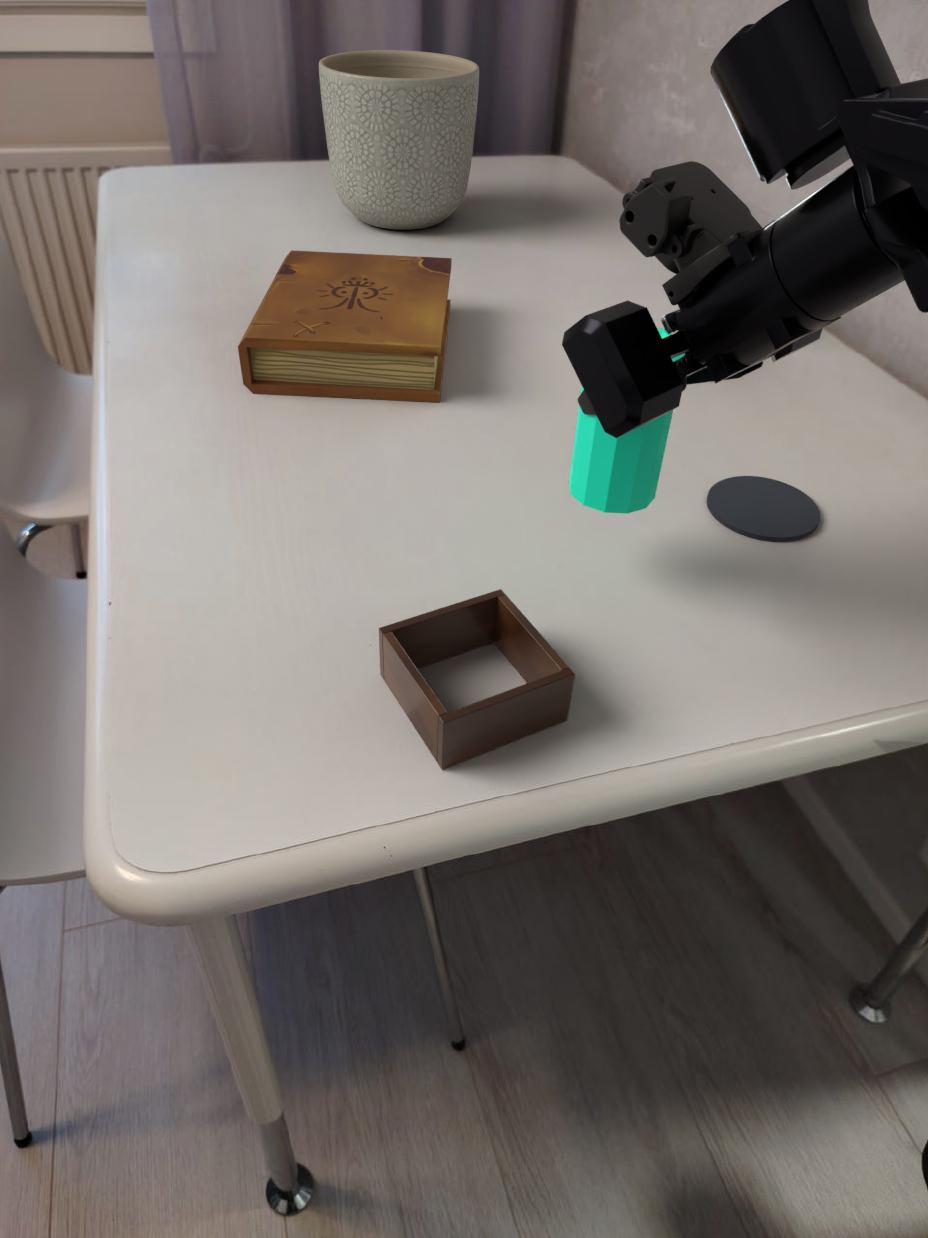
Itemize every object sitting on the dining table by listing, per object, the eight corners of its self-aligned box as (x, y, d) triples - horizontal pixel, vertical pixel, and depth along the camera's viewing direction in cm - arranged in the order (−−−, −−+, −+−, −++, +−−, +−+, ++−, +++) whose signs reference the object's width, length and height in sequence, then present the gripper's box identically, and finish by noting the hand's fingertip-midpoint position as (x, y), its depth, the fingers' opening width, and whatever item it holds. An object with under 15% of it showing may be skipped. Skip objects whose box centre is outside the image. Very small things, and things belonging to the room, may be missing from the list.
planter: (298, 221, 122) (284, 63, 109) (384, 188, 135) (381, 44, 123) (421, 252, 114) (421, 85, 101) (499, 214, 128) (508, 63, 115)
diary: (289, 301, 100) (284, 249, 96) (450, 309, 100) (451, 257, 96) (244, 393, 83) (236, 334, 79) (439, 402, 83) (440, 344, 79)
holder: (567, 720, 52) (575, 673, 50) (441, 770, 49) (443, 723, 47) (497, 634, 58) (501, 588, 55) (380, 674, 55) (378, 627, 52)
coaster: (843, 524, 69) (844, 520, 69) (759, 553, 66) (760, 549, 66) (764, 470, 75) (765, 466, 75) (683, 494, 72) (684, 490, 72)
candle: (604, 459, 63) (631, 293, 55) (672, 492, 60) (710, 321, 52) (550, 487, 60) (570, 315, 52) (618, 524, 56) (651, 346, 49)
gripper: (837, 96, 47) (645, 251, 61) (616, 142, 38) (445, 315, 51) (922, 282, 48) (714, 395, 61) (727, 375, 38) (530, 485, 52)
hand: (610, 394), depth 56 cm, fingers closed on candle, 5 cm apart
